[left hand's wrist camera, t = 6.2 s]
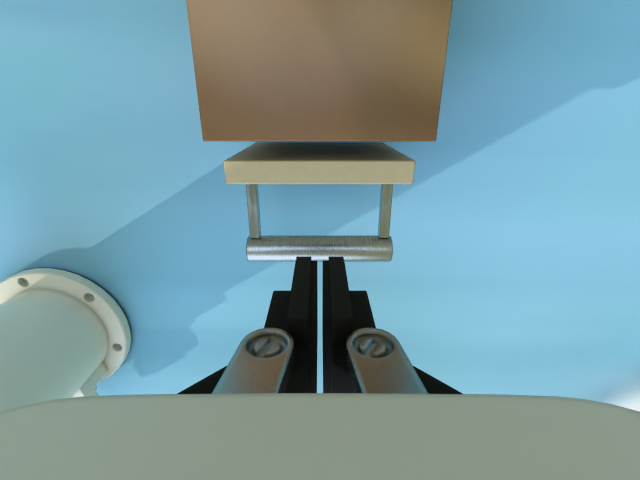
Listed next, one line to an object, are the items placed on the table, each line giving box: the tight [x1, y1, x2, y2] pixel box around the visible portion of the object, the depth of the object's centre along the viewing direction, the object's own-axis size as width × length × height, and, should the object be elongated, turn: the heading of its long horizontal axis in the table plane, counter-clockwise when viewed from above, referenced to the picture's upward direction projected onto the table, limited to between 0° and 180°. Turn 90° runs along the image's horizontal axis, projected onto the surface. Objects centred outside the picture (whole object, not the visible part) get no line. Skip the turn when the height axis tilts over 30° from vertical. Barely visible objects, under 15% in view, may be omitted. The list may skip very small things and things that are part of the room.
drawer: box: [224, 143, 415, 262], centre depth 20 cm, size 23×10×9 cm, turn 0°
